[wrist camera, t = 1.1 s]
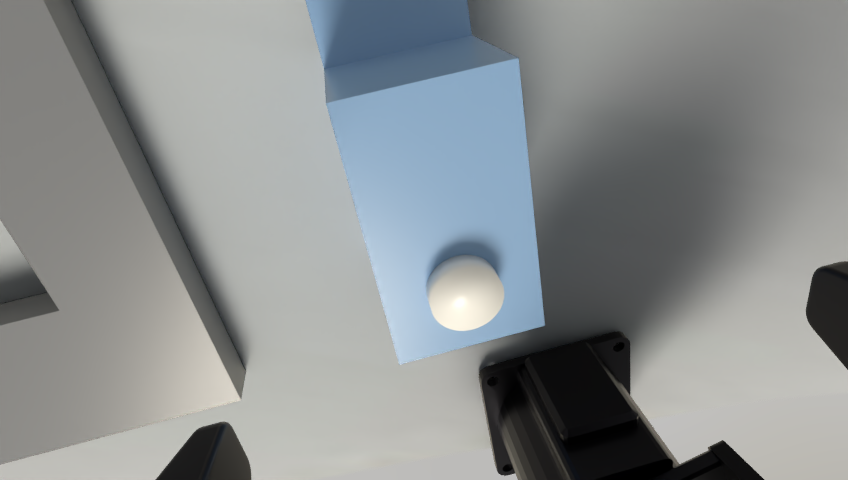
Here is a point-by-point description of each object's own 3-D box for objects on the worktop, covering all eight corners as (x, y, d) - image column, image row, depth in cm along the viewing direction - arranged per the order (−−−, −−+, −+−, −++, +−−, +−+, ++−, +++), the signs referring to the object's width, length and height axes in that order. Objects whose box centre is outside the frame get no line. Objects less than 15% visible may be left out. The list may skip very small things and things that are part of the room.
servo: (442, -49, 15) (518, -53, 9) (491, 272, 20) (558, 395, 15) (303, -18, 15) (294, -3, 9) (389, 299, 20) (417, 434, 14)
